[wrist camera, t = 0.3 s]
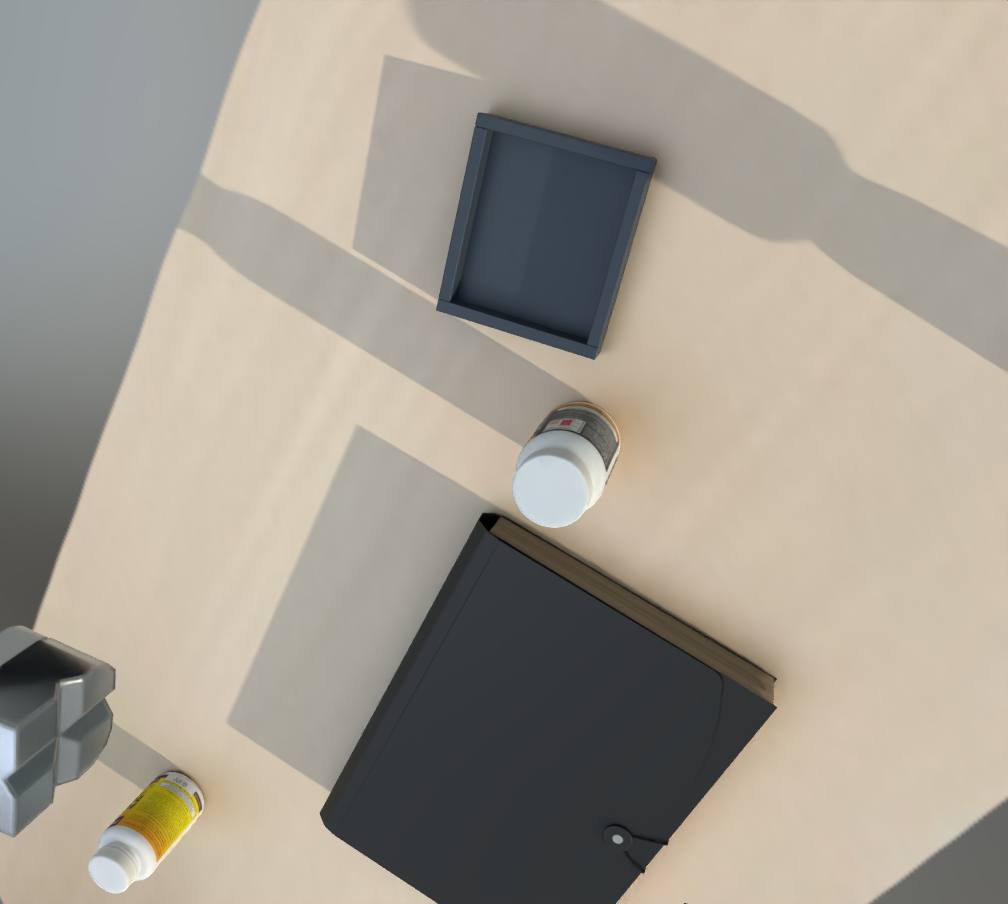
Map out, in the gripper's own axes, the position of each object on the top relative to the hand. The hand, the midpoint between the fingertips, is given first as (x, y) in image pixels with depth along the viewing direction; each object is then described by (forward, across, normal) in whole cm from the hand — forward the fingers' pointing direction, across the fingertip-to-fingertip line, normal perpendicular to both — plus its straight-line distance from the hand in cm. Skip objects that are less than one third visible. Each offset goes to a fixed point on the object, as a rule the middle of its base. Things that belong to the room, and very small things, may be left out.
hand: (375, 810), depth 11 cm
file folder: (+48, 0, +38) cm, 61 cm away
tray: (+47, +9, -1) cm, 48 cm away
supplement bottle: (+48, +30, +59) cm, 81 cm away
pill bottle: (+48, +3, +12) cm, 49 cm away
